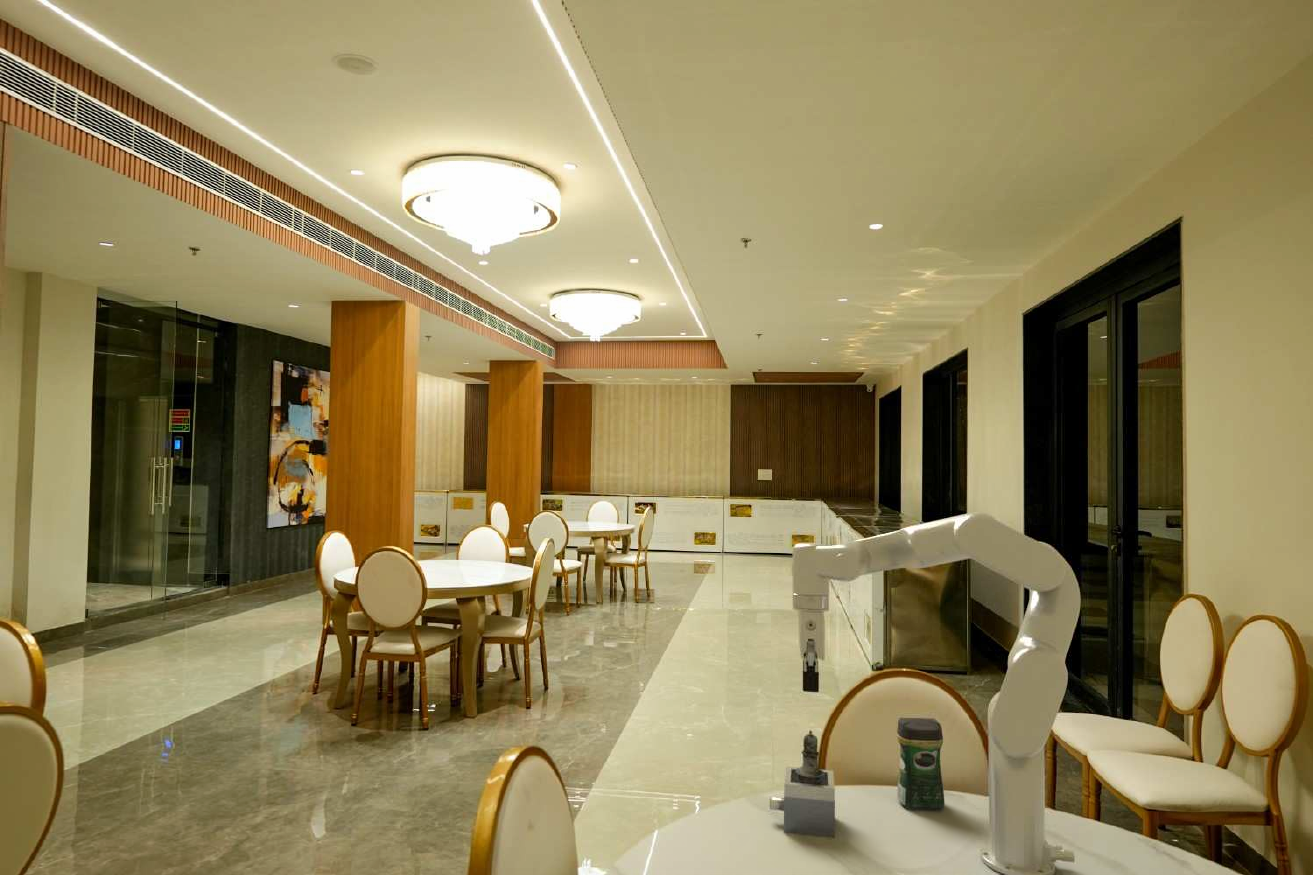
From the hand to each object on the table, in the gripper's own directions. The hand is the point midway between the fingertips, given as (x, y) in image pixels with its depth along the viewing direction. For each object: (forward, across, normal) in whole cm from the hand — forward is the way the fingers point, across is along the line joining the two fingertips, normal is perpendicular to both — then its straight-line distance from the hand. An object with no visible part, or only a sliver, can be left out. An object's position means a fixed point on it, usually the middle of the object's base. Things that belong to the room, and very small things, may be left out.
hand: (810, 685), depth 161 cm
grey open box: (+28, +1, +2) cm, 28 cm away
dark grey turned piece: (+21, 0, 0) cm, 21 cm away
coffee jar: (+28, +16, -24) cm, 40 cm away
